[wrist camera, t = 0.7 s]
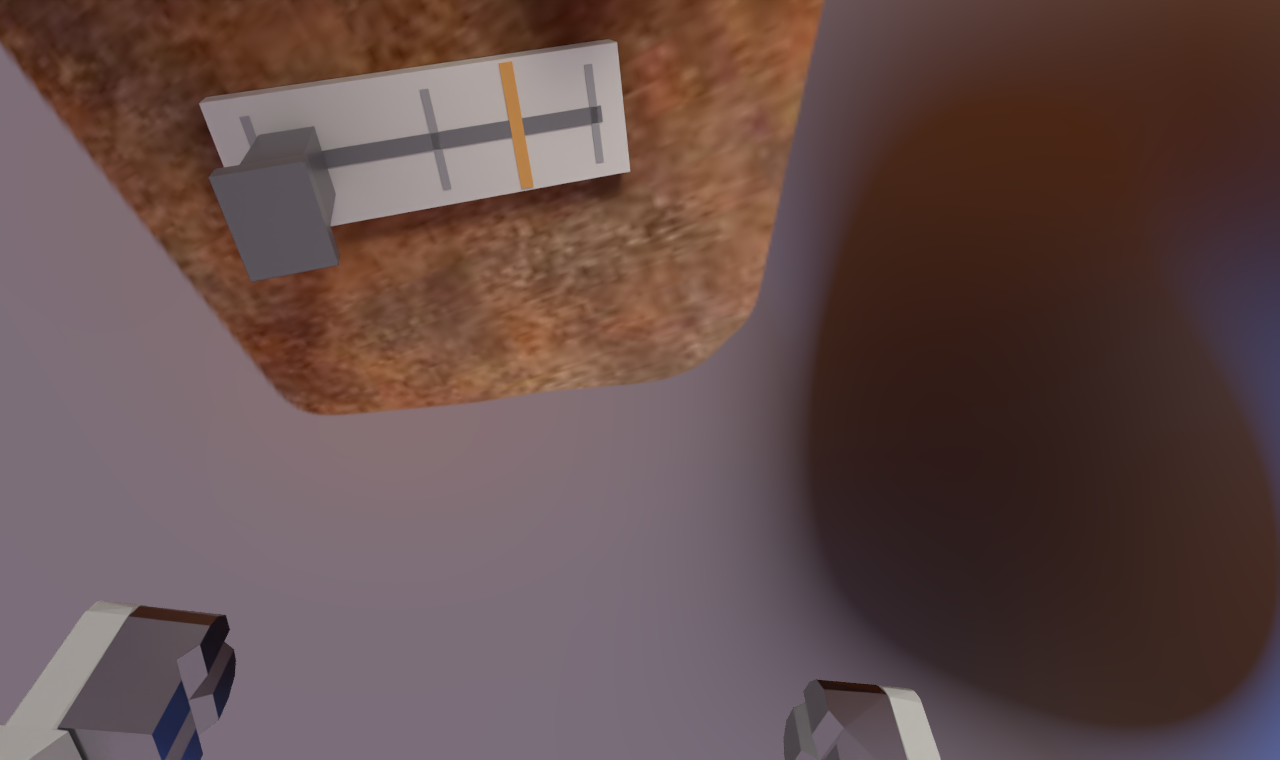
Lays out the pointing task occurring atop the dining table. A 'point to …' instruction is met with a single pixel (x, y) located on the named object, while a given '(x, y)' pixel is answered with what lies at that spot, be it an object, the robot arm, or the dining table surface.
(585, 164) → the slider box
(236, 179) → the slider knob
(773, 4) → the dining table surface
